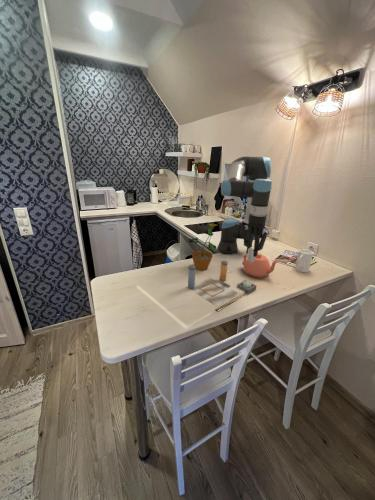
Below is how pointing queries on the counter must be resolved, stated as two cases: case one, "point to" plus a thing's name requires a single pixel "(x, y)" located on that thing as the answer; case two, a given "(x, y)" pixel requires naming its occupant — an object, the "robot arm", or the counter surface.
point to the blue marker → (191, 277)
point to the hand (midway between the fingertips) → (250, 260)
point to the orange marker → (223, 270)
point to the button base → (248, 290)
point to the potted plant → (203, 253)
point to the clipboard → (216, 292)
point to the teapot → (258, 266)
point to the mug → (303, 260)
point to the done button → (247, 284)
